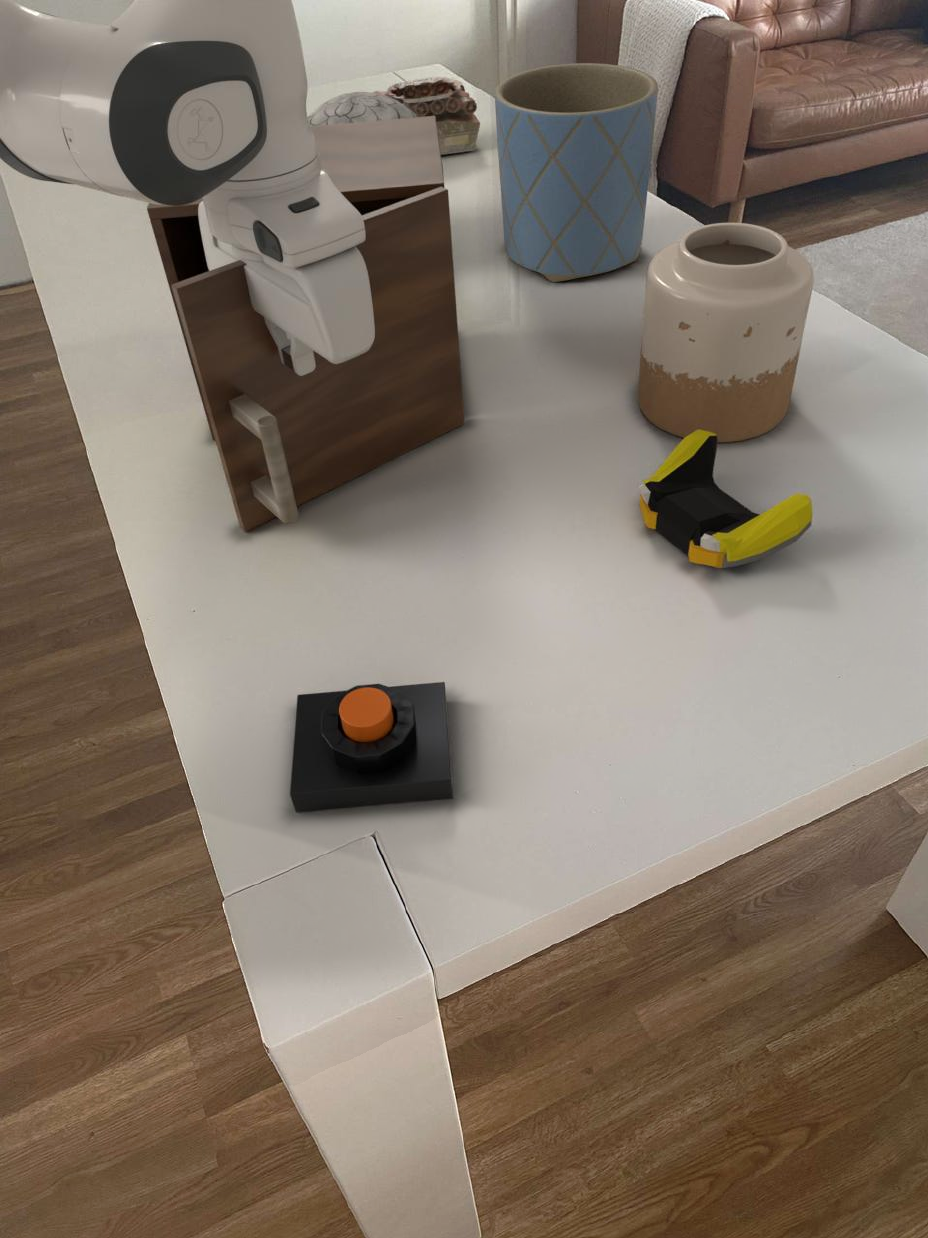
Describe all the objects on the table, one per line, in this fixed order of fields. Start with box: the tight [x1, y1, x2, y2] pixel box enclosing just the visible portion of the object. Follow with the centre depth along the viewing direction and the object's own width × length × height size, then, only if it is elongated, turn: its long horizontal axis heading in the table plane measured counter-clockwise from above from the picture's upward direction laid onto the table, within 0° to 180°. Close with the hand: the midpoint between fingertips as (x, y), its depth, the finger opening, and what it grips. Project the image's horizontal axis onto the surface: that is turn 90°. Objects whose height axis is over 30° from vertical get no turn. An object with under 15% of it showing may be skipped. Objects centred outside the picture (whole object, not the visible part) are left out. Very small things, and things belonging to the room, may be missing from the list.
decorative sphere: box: [307, 91, 445, 179], centre depth 124 cm, size 20×20×20 cm
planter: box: [494, 62, 659, 283], centre depth 121 cm, size 19×19×20 cm
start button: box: [339, 687, 394, 743], centre depth 68 cm, size 4×4×2 cm
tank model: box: [372, 76, 481, 156], centre depth 153 cm, size 13×20×10 cm, turn 98°
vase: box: [637, 222, 815, 443], centre depth 95 cm, size 15×15×17 cm
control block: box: [289, 681, 454, 813], centre depth 69 cm, size 11×9×4 cm
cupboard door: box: [171, 187, 465, 533], centre depth 86 cm, size 7×26×24 cm, turn 129°
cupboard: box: [146, 116, 446, 441], centre depth 99 cm, size 18×26×24 cm
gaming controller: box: [638, 429, 813, 570], centre depth 85 cm, size 15×6×10 cm
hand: (299, 367), depth 81 cm, fingers closed
